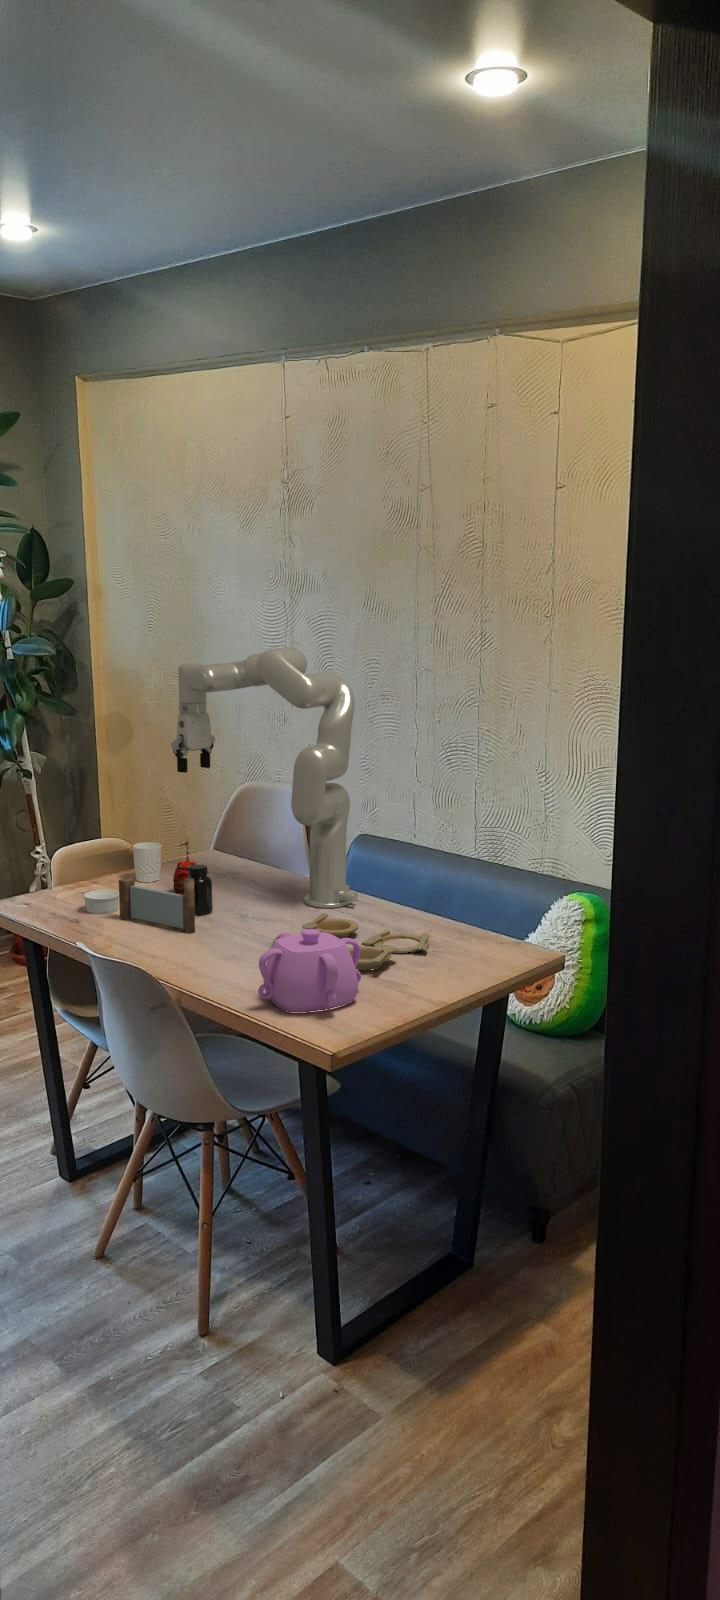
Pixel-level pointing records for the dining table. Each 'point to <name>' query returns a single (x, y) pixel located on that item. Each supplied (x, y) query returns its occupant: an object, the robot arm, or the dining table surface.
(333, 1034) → the dining table surface
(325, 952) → the purple lidded pot
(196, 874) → the supplement bottle
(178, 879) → the red clay folk toy
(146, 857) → the white cup
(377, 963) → the tableware set
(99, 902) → the ramekin
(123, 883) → the door frame
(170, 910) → the door
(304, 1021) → the dining table surface
